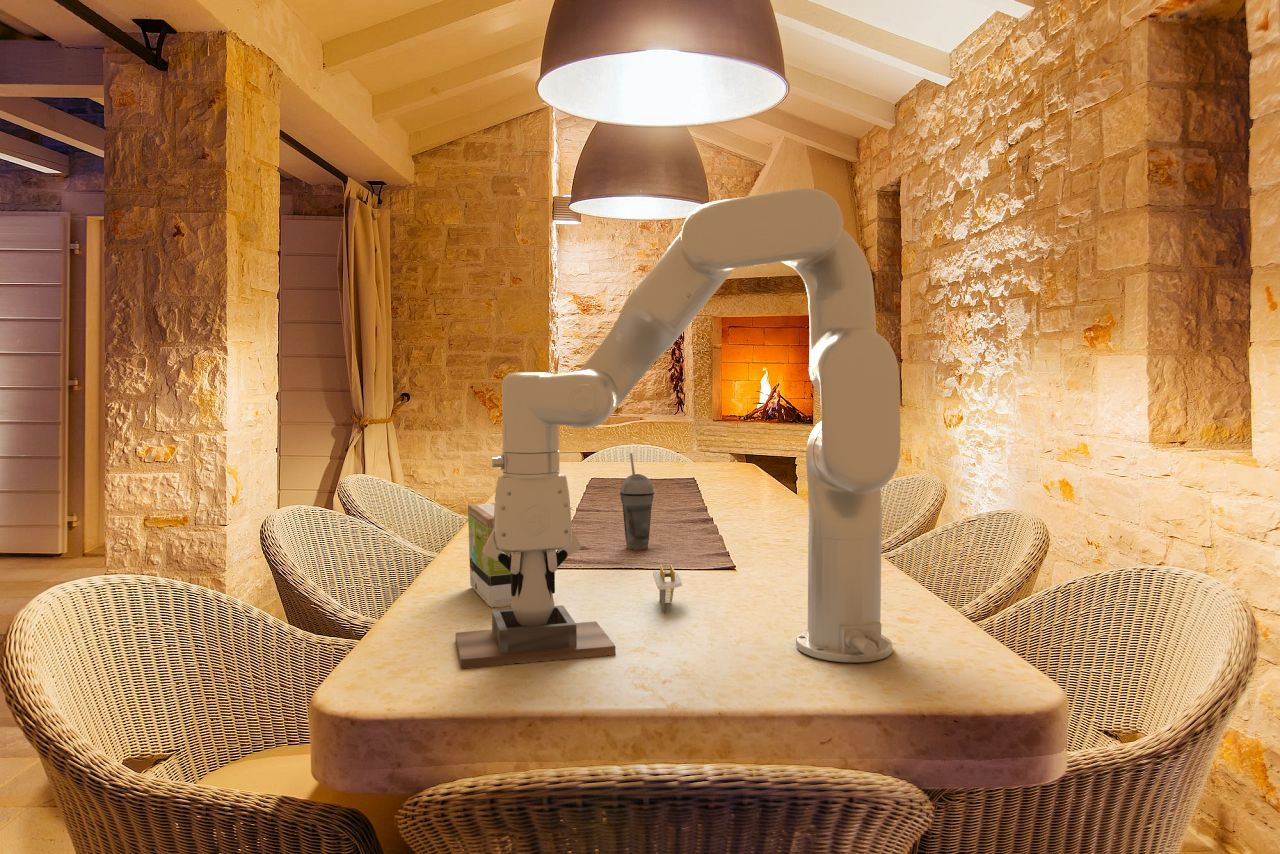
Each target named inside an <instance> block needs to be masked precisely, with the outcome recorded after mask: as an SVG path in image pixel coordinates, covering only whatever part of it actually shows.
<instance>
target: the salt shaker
mask: <svg viewBox="0 0 1280 854" xmlns="http://www.w3.org/2000/svg"><path fill="white" fill-rule="evenodd" d="M546 566H547V565H546V558H545V553H544V551H530V552H521V558H520V568H521V570H520V573H521V574H522V575H523V581H522V589H521V593H520V596H519V597H518V586H517V591H516V594H515V596H512V601H511V606H510V609H512V610H513V613H514V615H515V617H516V620H517V622H518V623H519V624H521V625H522V626H537V625H543V624H547V621H548V619H549V617H550V615H551V613H552V611H553V609H554V606H555V601H554V600H555V599H554V595H553V594H554V593H553V594H552V592H551V598H550V593H549V590H548V588H547V581H546V578H545V574H546V572H547V570H546Z"/></svg>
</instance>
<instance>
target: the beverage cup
mask: <svg viewBox="0 0 1280 854" xmlns="http://www.w3.org/2000/svg"><path fill="white" fill-rule="evenodd" d="M629 458H630V464H631V465H630V466H631V473H632V474H630V475H629V476H627V477H626V478H625V479H624V480H623V482H622V483H621V486H620V492H619V495H620V502H621V505H622V515H623V527H624V535H625V536H624V537H625V543H626V548H627V550H632V549H633V551H634V550H636V551H637V550H638V551H639V550H642V551H643V550H646V549H649V542H650V534H651V520H652V506H653V505H652V504H653V501H654V495H655V491H654V486H653V484H652V482H651V480H650V479H649V478H648V477H647V476H645V475H643V474H639V473H637V474H636V471H635V465H634V464H635V463H634V458H633V453H632V452H631V453H629Z"/></svg>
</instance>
